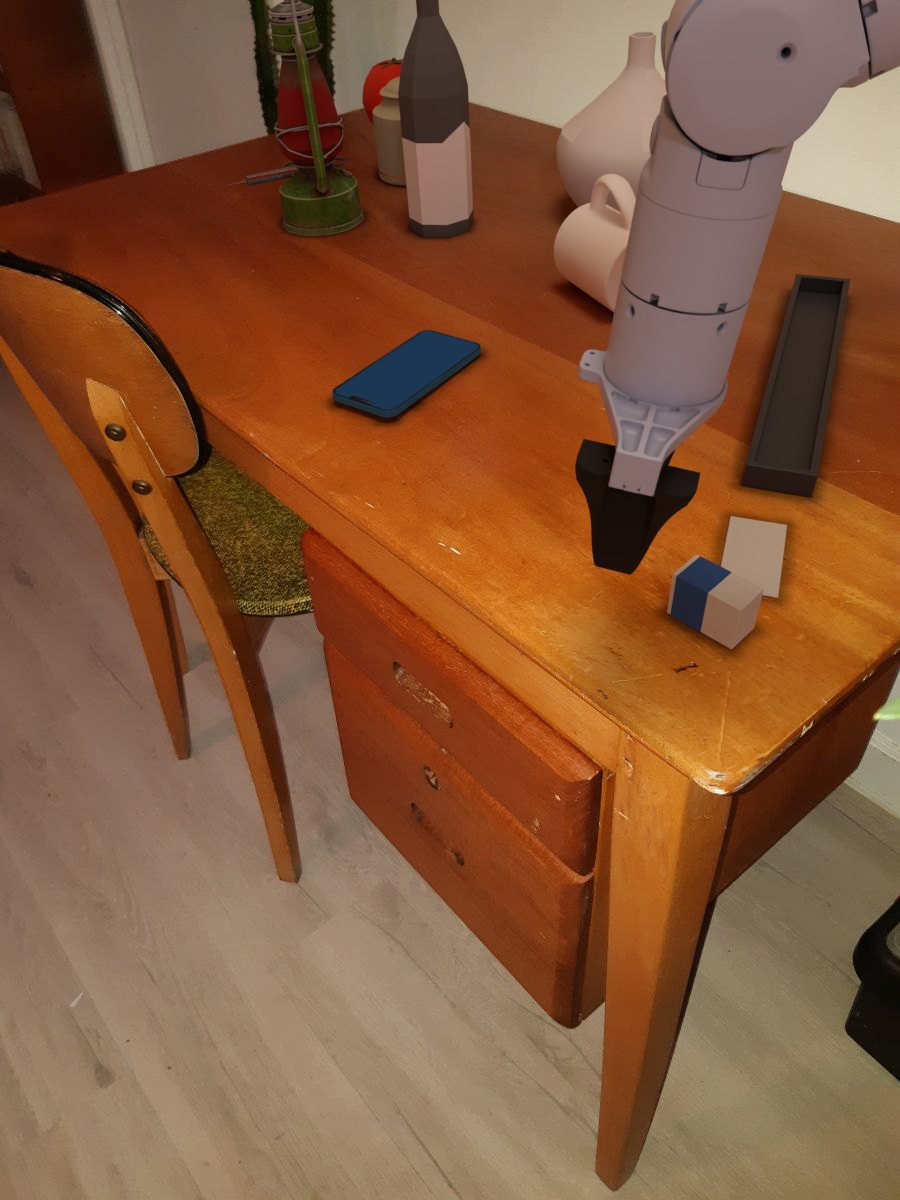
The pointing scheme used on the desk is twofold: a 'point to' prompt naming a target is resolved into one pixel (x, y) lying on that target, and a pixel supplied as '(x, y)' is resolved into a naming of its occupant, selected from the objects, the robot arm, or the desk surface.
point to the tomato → (378, 83)
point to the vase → (614, 126)
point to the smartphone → (406, 373)
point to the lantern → (309, 131)
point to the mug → (597, 241)
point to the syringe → (281, 176)
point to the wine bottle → (435, 128)
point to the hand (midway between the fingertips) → (626, 522)
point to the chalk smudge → (755, 552)
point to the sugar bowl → (389, 135)
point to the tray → (799, 389)
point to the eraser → (714, 601)
